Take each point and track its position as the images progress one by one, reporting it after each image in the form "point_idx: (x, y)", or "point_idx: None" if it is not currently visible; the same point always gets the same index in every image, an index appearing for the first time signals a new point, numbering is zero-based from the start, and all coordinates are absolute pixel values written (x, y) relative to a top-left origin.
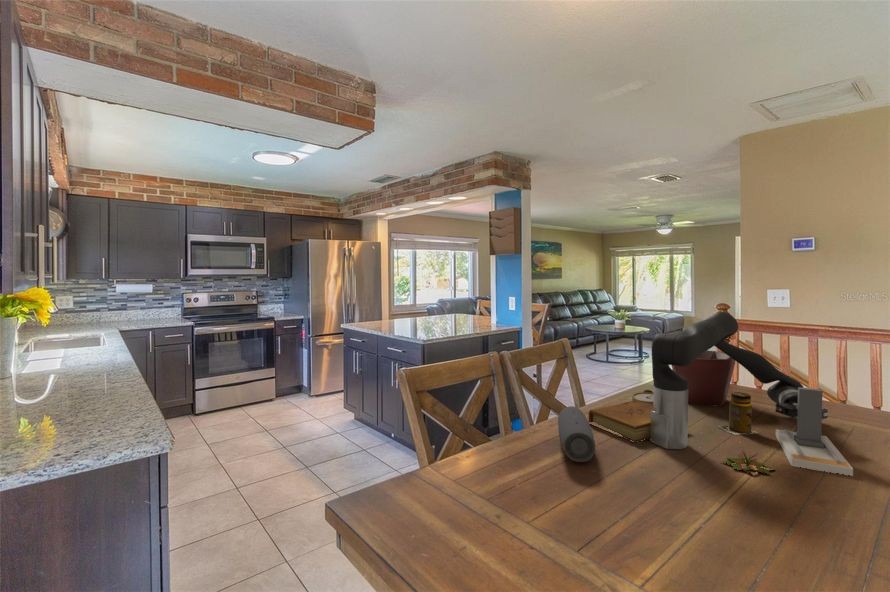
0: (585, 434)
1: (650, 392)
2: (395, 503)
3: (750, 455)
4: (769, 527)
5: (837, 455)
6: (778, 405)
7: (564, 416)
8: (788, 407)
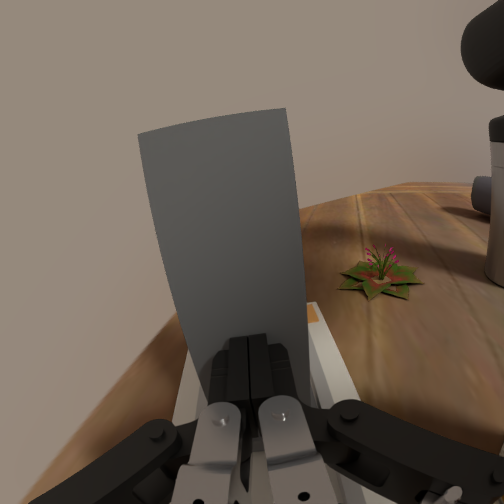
0: (475, 178)
1: None
2: (465, 186)
3: (380, 260)
4: (319, 223)
5: (196, 372)
6: (483, 453)
7: None
8: (392, 438)
